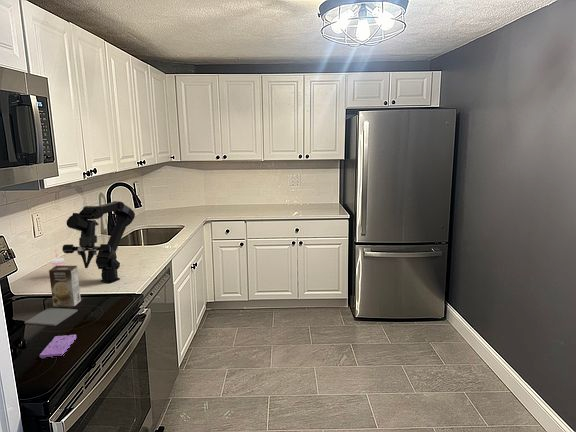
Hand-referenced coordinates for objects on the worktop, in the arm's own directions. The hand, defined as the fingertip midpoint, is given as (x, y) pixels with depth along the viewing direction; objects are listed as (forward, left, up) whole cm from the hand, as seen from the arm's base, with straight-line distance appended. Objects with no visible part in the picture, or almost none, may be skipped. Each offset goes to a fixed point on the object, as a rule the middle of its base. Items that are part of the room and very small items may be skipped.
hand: (86, 268), depth 180 cm
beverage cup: (-9, -36, -13) cm, 40 cm away
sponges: (+33, +30, -14) cm, 47 cm away
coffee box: (+10, -1, -13) cm, 16 cm away
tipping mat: (+20, +5, -13) cm, 25 cm away
